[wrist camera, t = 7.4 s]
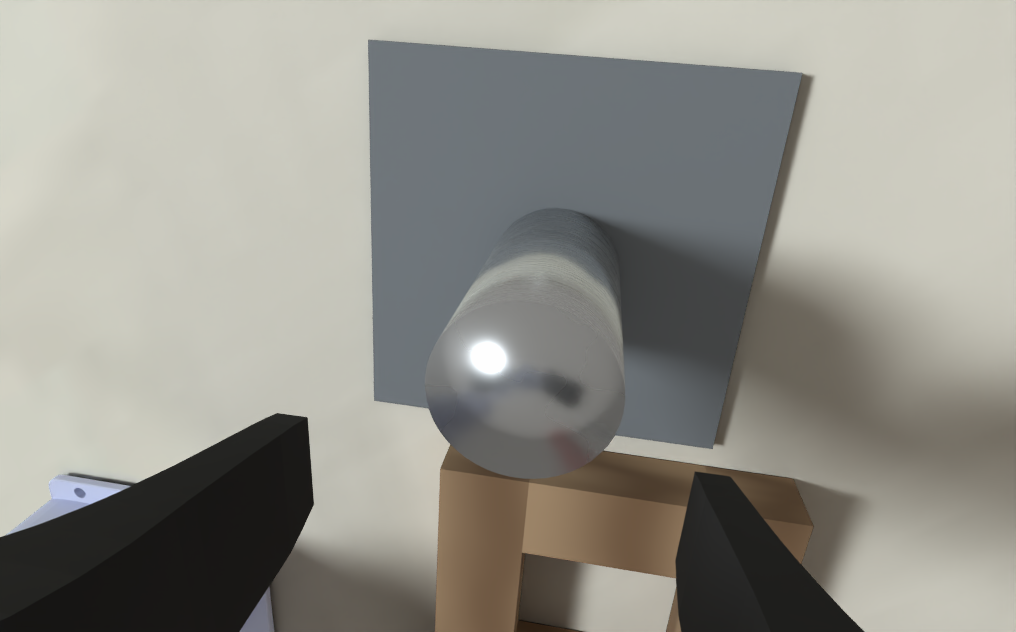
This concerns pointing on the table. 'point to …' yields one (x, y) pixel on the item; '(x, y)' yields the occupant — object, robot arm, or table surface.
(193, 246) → the table surface
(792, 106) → the slate mat
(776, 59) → the table surface
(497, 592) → the pocket block
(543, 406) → the peg
